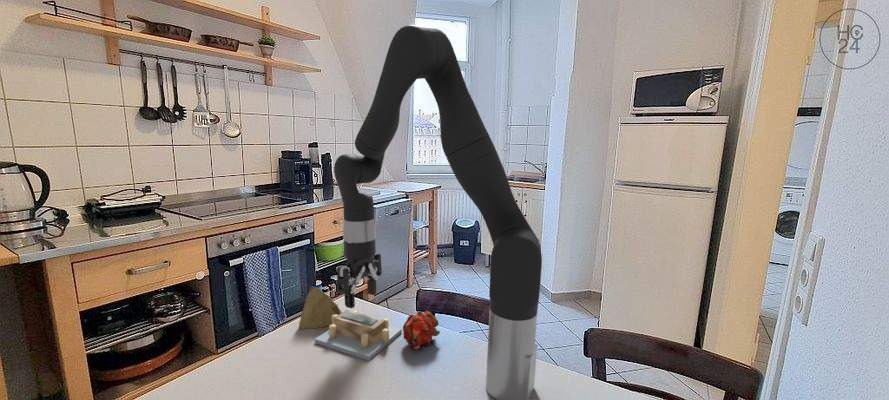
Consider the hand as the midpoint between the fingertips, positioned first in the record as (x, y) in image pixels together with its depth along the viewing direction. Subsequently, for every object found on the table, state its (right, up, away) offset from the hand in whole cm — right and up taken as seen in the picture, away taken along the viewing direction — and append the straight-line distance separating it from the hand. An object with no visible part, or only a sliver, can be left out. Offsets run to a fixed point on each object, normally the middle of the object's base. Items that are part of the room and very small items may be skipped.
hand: (361, 300), depth 95 cm
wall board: (-1, -10, +1) cm, 10 cm away
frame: (-1, -9, +1) cm, 9 cm away
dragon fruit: (+15, -11, -1) cm, 18 cm away
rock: (-12, -9, +8) cm, 17 cm away
